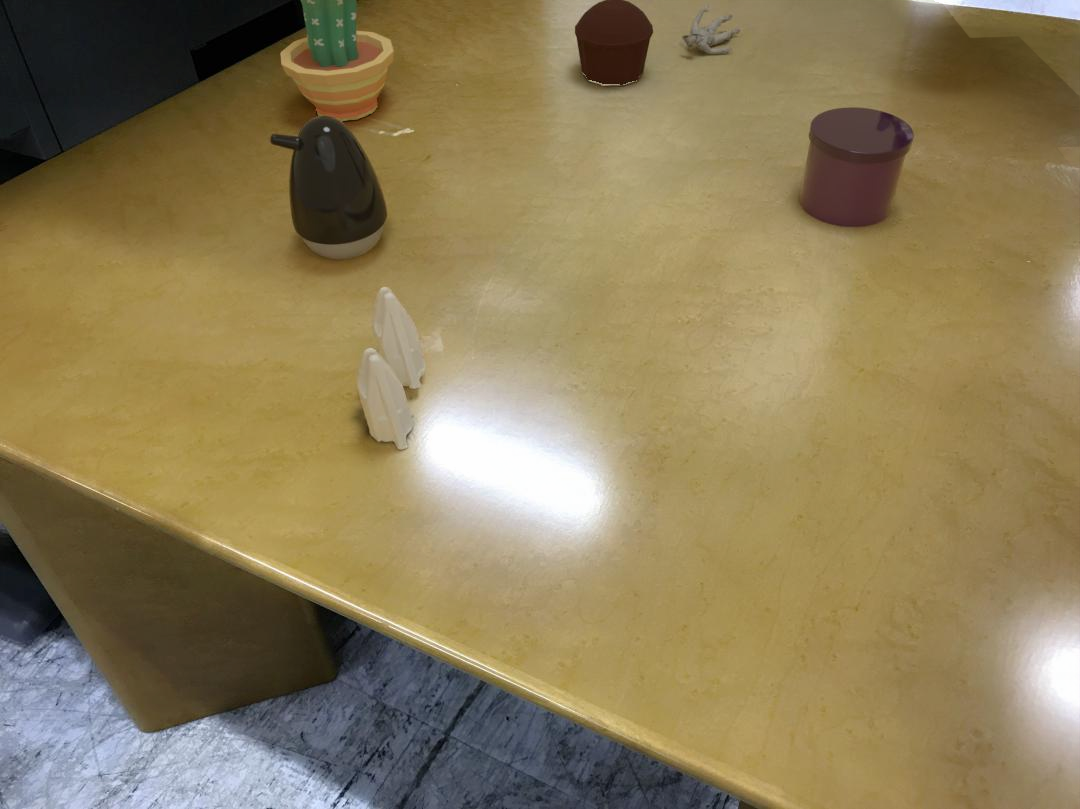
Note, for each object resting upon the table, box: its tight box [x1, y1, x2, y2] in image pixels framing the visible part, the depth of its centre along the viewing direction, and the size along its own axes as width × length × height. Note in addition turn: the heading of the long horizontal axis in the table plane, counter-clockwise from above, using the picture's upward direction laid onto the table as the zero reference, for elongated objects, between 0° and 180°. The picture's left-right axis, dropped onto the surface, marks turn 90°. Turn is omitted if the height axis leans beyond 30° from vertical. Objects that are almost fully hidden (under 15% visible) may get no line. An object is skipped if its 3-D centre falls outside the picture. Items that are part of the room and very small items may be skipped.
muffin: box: [574, 0, 654, 85], centre depth 129 cm, size 12×11×10 cm
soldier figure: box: [681, 4, 741, 55], centre depth 138 cm, size 8×5×12 cm
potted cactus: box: [279, 0, 395, 119], centre depth 118 cm, size 15×15×25 cm
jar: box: [798, 106, 915, 228], centre depth 99 cm, size 11×11×11 cm
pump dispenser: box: [269, 116, 388, 261], centre depth 96 cm, size 10×10×15 cm
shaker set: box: [356, 286, 426, 451], centre depth 78 cm, size 12×4×11 cm, turn 175°
